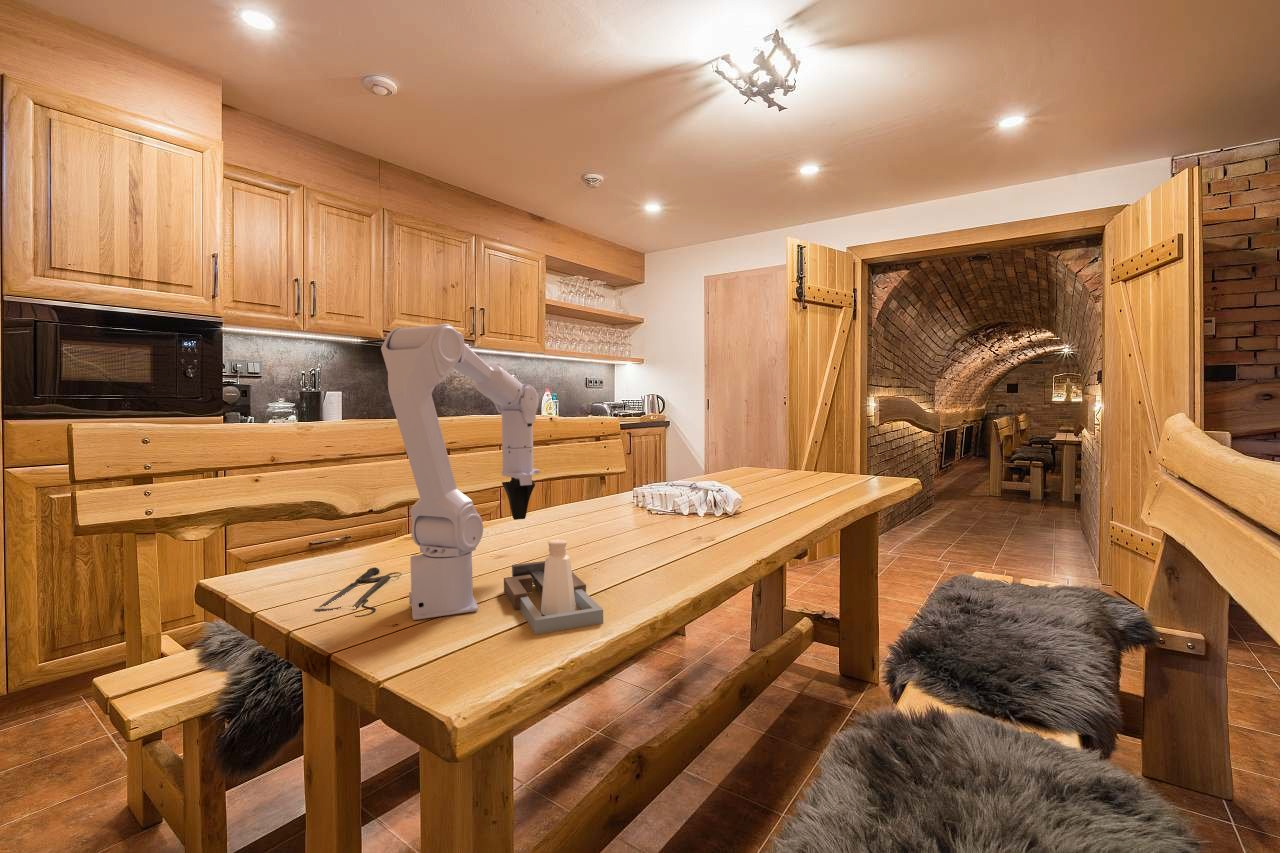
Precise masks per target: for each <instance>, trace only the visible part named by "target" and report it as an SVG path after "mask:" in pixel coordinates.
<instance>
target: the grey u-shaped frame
mask: <svg viewBox="0 0 1280 853" xmlns="http://www.w3.org/2000/svg"><path fill="white" fill-rule="evenodd" d="M587 593H588V592H587V591H586V592H584V591H583V590H582V589H577V590H575V603H576V606H578V608H580V610H579V609H577V610H576V611H572V612H565V613H559V614H552V615H546V616H545V615H542V614H541V613H540V612H539V610H538V609H537V607H536V606H535V605H534V603H533V602H532V601H531V599H530V597H529V596H527V597H521V598H520V610H519V611H520V612H521V614H522V616H523V617H524V618H525V621H526V622H527V624H528V625H529V627H530V628H531V630H532V632H533V633H534V635H540V634H546V633H553V632H559V631H560V632H561V631H564V630H565V631H566V630H571V629H576V628H578V629H579V628H583V627H587V626H589V627H590V626H594V625H600V624H604V609H603V608H602V607H601V606H600V605H599V604H598V603H597V601H595V600H594V599H593V598H592V597H591V596H590V595H589V594H587Z"/></svg>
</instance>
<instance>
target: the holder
mask: <svg viewBox="0 0 1280 853" xmlns="http://www.w3.org/2000/svg"><path fill="white" fill-rule="evenodd" d="M572 578H573V587H574V595H575V590H577V589H582V590H583V591H584V592H586V593H587V584H586V583H585V582H583V581H582V580H581V578H579V577H578V576H577V575H576V574H575V573H574V572H573V571H572ZM533 589H534V584H533V578H532V576H531V575H523V576H515V577H512V576H508V577H507V576H506V577H503V593H504V595H505V597H506V599H507V600H508V601H509V603H510V605H511V607H512V608H513V610H514V611H520V598H521V597H528V594H529V593H534V590H533Z"/></svg>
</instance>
